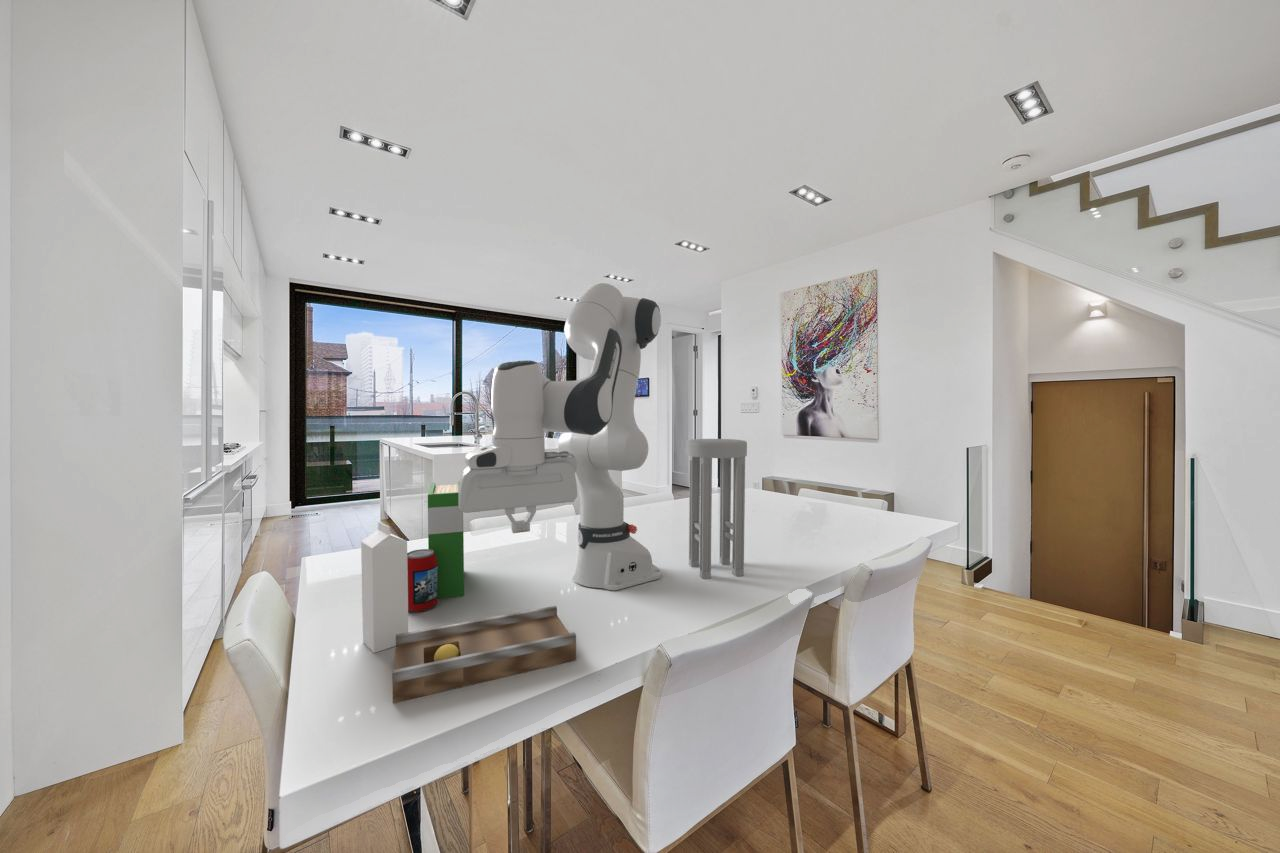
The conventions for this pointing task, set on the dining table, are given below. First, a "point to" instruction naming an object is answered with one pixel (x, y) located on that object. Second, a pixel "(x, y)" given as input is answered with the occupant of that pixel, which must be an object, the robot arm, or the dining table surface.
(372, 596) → the milk
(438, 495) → the hardback book
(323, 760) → the dining table surface
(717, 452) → the stool
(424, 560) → the beverage can
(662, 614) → the dining table surface
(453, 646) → the ball
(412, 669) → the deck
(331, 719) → the dining table surface
